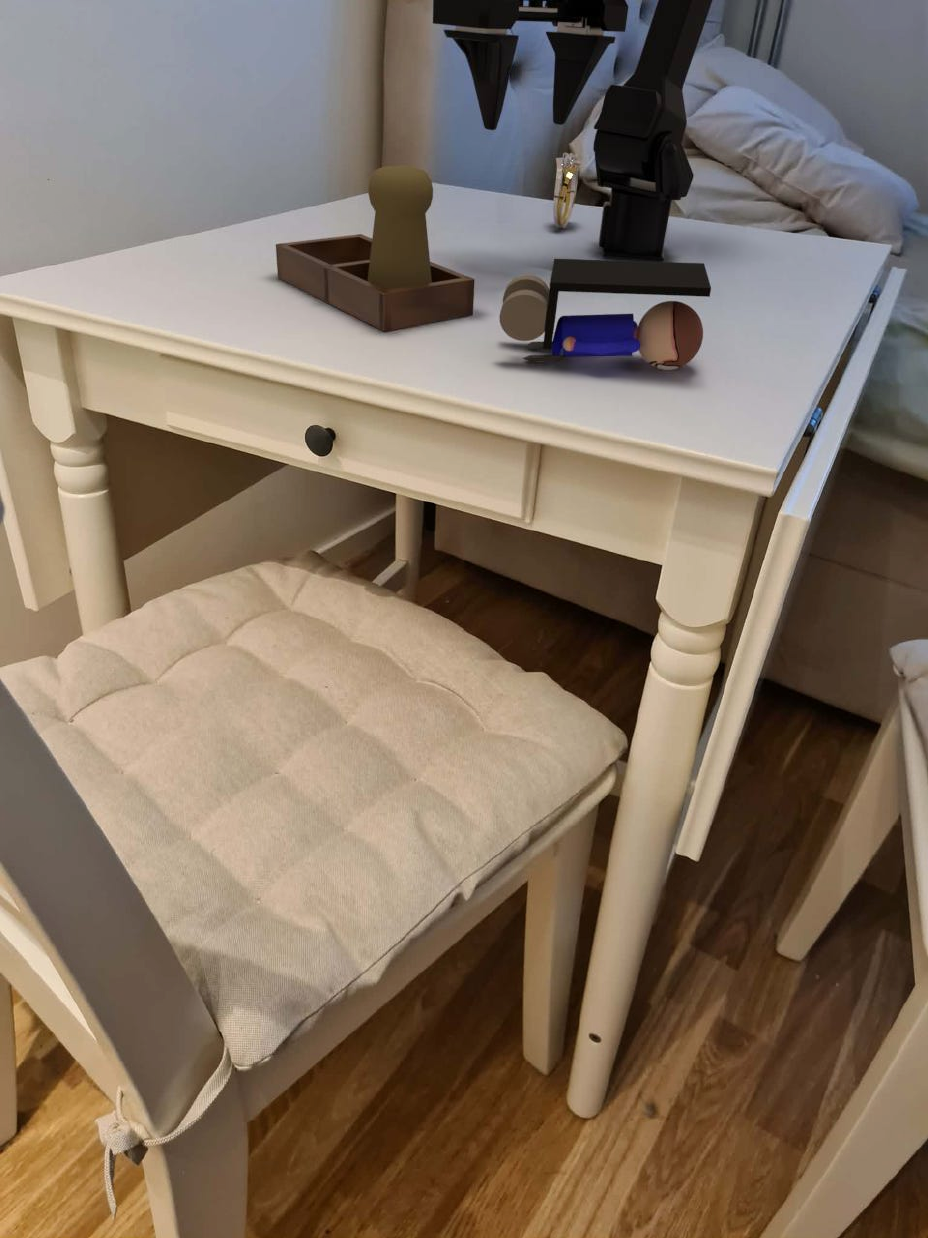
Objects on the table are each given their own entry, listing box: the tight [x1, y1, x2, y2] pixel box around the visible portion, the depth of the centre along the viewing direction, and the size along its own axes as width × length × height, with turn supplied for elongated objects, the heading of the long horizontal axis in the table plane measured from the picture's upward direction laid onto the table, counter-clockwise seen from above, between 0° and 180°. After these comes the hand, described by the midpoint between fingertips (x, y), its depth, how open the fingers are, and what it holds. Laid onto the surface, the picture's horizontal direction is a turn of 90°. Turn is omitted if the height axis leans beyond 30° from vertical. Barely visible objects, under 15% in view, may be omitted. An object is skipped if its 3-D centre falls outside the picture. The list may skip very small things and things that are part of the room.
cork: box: [367, 164, 434, 290], centre depth 73 cm, size 6×6×11 cm
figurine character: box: [498, 258, 712, 371], centre depth 66 cm, size 7×8×15 cm
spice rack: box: [275, 233, 476, 332], centre depth 78 cm, size 9×18×3 cm, turn 38°
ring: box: [552, 151, 583, 229], centre depth 103 cm, size 7×3×8 cm, turn 157°
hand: (525, 126), depth 79 cm, fingers open, 9 cm apart
